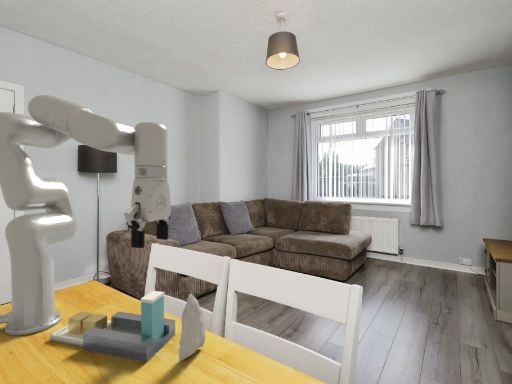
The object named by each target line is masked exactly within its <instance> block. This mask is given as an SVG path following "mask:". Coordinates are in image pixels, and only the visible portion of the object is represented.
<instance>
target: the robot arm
mask: <svg viewBox="0 0 512 384" xmlns="http://www.w3.org/2000/svg"><path fill="white" fill-rule="evenodd" d="M27 111H28V114H29V115H30V116H29V115H25V114H21V113H16V112H7V111H0V189H1V193H2V196H3V201H4V203H5V205H6V206H7V208H8V209H10V210H12V211H17V212H22V211H23V212H24V211H25V212H26V211H38V210H45V212H39V213H38V212H37V213H30V214H23V215H19V216H17V217H15V218H12V219H11V220H10V221H9V222H8V223H7V224H6V227H5V231H4V233H5V239H6V244H7V246H8V252H9V256H10V257H9V258H10V273H11V278H10V281H11V311H8V312H7V313H0V325H1V324H6V325H5V326H4V333H5V334H7V335H9V336H25V335H31V334H36V333H38V332H42V331H44V330H46V329H50V328H51V327H53V326H54V325H56V324H58V323H59V322H60V321H61V319H62V312H61V311H58V310H56V307H55V305H56V303H55V301H56V300H55V299H56V298H55V295H56V294H55V293H56V292H55V260H54V257H53V255H52V254H51V253H50V251H49V250H48V249H47V247H46V246H49V245H53V244H57V243H58V244H59V243H62V242H66V241H69V240H71V239H73V238H74V237H75V235H76V233H77V231H78V221H77V217H76V213H75V209H74V205H73V202H72V198H71V195H70V194H71V193H70V192H69V188H68V187H67V185H66V184H65V183H64V182H63V181H61V180H59V179H56V178H50V177H49V178H47V177H40V176H39V175H38V173H37V169H36V165H35V162H34V161H33V160H32V158H31V156H30V155H29V154H28V153H27V152H26V151H25V150H24V149H23V148H21V146H20V145H22V146H26V147H36V148H44V149H54V148H57V147H58V146H59V147H60V145H63V144H64V143H66V142H68V141H69V140H71V139H72V140H74V141H75V142H77V143H80V144H82V145H85V146H87V147H90V148H93V149H96V150H97V151H98V150H99V151H103V152H108V153H109V152H110V153H116V154H120V155H121V154H122V155H129V156H134V180H133V185H132V190H131V201H130V202H131V205H130V206H131V207H129V208H128V209H127V210H126V211H125V212H124V213H123V216H124V219H125V221H126V225H127V227H128V229H129V231H130V237H131V238H130V241H131V242H130V243H131V245H130V246H131V248H134V249H144V248H145V244H146V243H145V242H146V241H145V239H146V237H145V230H144V227H145V225H146V224H147V222H148V223H151V222H152V223H153V222H157V223H156V240H161V241H162V240H164V241H165V240H167V241H168V239H169V224H170V219H171V217H172V211H173V206H171V192H170V190H171V189H170V186H169V185H170V184H169V180H168V129H167V127H166V126H165V125H164V124H162V123H158V122H152V121H144V122H143V121H142V122H138V123H137V124H136V125H131V124H128V123H125V122H123V121H122V122H121V121H118V120H115V119H111V118H108V117H104V116H103V115H102V116H101V115H98V114H95V113H94V112H93V111H92V110H91V109H90V108H88V107H85V106H83V105H80V104H79V103H76V102H72V101H69V100H67V99H62V98H59V97H57V96H55V95H54V96H53V95H51V94H50V95H49V94H40V95H36V96H33V97H32V98H31V99H30V100H29V101H28V104H27Z"/></svg>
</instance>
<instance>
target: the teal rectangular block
mask: <svg viewBox="0 0 512 384" xmlns="http://www.w3.org/2000/svg"><path fill="white" fill-rule="evenodd" d="M139 302H140V309H141V310H140V315H141V336H146V337H152V338H155V341H156V340H157V339H158V338H159V337H161V336H162V335H163V334H164V318H165V292H164V291H158V290H152V291H151V292H149V293H148V294H146V295H144V296H143V297H141V298H140V301H139Z"/></svg>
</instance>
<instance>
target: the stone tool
mask: <svg viewBox="0 0 512 384" xmlns="http://www.w3.org/2000/svg"><path fill="white" fill-rule="evenodd" d="M186 299H187V300H186V304H185V307H184V309H183V311H182V313H181V333H180V338H179V348H178V359H179V362H181V361H183V360H185V359H186V358H190V357H191V356H192V355H193V354H195V353H196V351H197V350H198V349H200V348H201V347H203V346H204V344H205V342H206V327H205V326H206V325H205V317H204V314H203V309H202V308H200V304H199V300H198V299H197V298H196V297H195V296H194V295H193V294H192V293H189V295H188V297H187V298H186Z"/></svg>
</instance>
